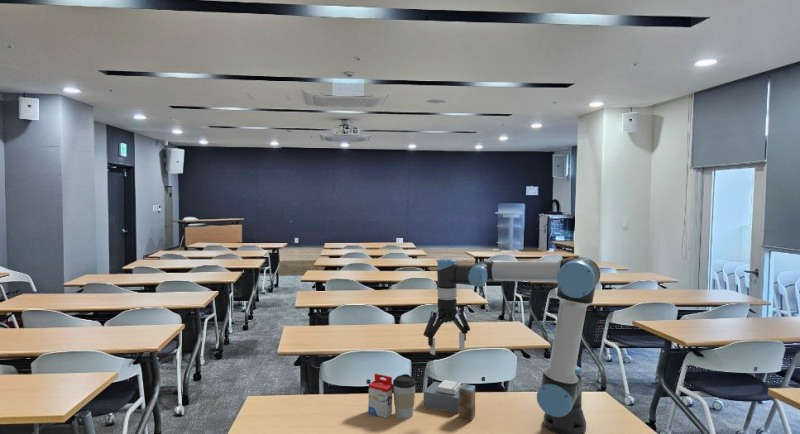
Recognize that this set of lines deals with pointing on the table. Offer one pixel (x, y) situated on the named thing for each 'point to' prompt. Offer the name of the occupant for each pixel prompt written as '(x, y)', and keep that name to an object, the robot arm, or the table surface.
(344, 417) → the table surface
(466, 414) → the plug
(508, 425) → the table surface
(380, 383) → the ink box
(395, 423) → the table surface
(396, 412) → the coffee cup
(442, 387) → the lid
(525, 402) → the table surface
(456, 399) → the socket block
